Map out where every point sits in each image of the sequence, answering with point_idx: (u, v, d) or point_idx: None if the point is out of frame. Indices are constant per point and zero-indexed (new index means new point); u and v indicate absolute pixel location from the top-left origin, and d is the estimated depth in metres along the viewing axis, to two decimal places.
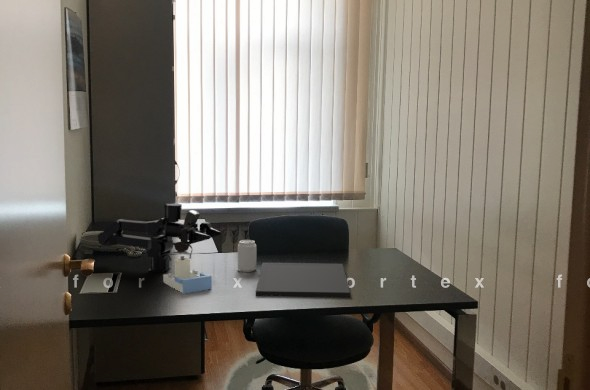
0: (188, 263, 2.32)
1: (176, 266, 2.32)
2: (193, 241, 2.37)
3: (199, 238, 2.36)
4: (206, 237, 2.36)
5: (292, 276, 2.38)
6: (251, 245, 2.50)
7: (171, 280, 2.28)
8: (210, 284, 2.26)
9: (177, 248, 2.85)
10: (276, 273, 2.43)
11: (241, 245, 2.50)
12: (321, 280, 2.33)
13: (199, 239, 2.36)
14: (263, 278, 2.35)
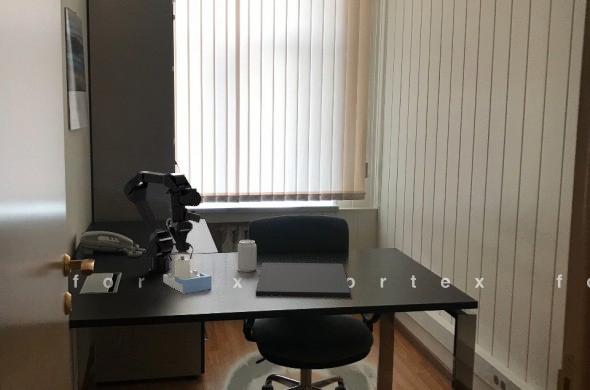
0: (188, 263, 2.32)
1: (176, 266, 2.32)
2: (178, 233, 2.35)
3: (182, 238, 2.37)
4: (183, 244, 2.38)
5: (292, 276, 2.38)
6: (251, 245, 2.50)
7: (171, 280, 2.28)
8: (210, 284, 2.26)
9: (178, 248, 2.84)
10: (276, 273, 2.43)
11: (241, 245, 2.50)
12: (321, 280, 2.33)
13: (180, 238, 2.37)
14: (263, 278, 2.35)
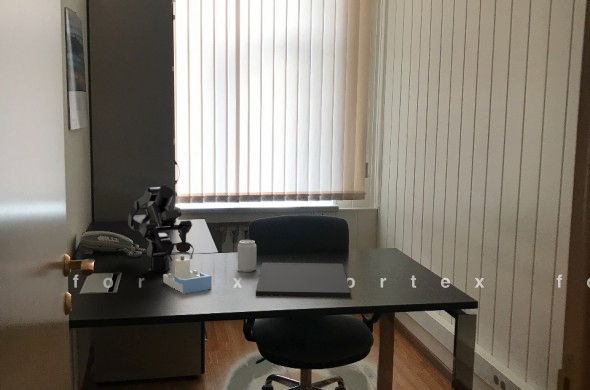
0: (188, 263, 2.32)
1: (176, 266, 2.32)
2: (151, 239, 2.38)
3: (156, 241, 2.37)
4: (160, 246, 2.35)
5: (292, 276, 2.38)
6: (251, 245, 2.50)
7: (171, 280, 2.28)
8: (210, 284, 2.26)
9: (179, 248, 2.84)
10: (276, 273, 2.43)
11: (241, 245, 2.50)
12: (321, 280, 2.33)
13: (155, 242, 2.37)
14: (263, 278, 2.35)
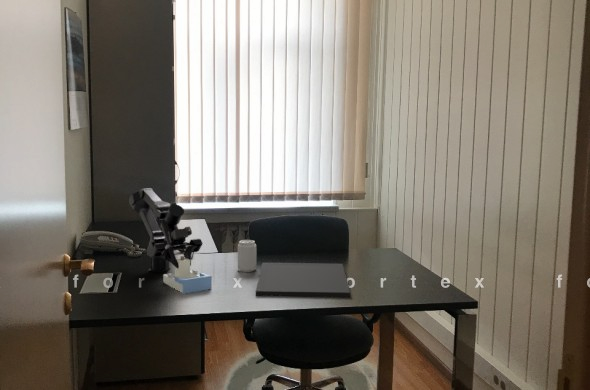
0: (188, 263, 2.32)
1: None
2: (166, 257, 2.33)
3: (171, 260, 2.32)
4: (176, 265, 2.30)
5: (292, 276, 2.38)
6: (251, 245, 2.50)
7: (171, 280, 2.28)
8: (210, 284, 2.26)
9: None
10: (276, 273, 2.43)
11: (241, 245, 2.50)
12: (321, 280, 2.33)
13: (171, 261, 2.32)
14: (263, 278, 2.35)
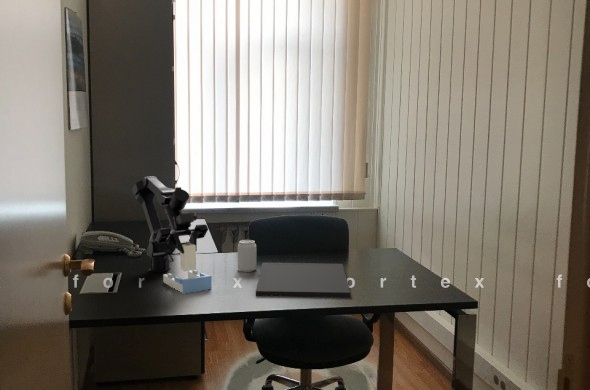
0: (194, 248, 2.27)
1: None
2: (171, 243, 2.28)
3: (176, 245, 2.27)
4: (181, 250, 2.26)
5: (292, 276, 2.38)
6: (251, 245, 2.50)
7: (171, 280, 2.28)
8: (210, 284, 2.26)
9: None
10: (276, 273, 2.43)
11: (241, 245, 2.50)
12: (321, 280, 2.33)
13: (176, 246, 2.27)
14: (263, 278, 2.35)
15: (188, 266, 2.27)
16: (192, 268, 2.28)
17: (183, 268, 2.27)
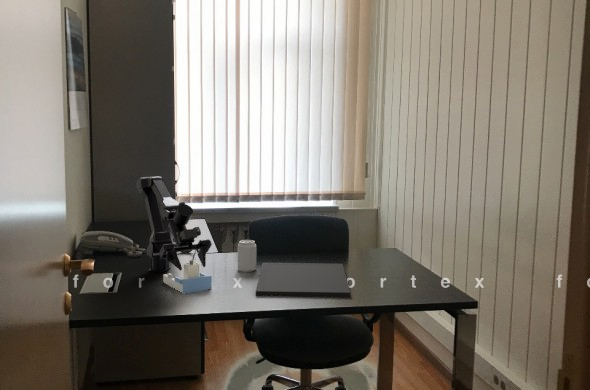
0: (197, 267, 2.26)
1: (185, 270, 2.26)
2: (169, 259, 2.26)
3: (174, 262, 2.24)
4: (179, 267, 2.23)
5: (292, 276, 2.38)
6: (251, 245, 2.50)
7: (171, 280, 2.28)
8: (210, 284, 2.26)
9: None
10: (276, 273, 2.43)
11: (241, 245, 2.50)
12: (321, 280, 2.33)
13: (173, 263, 2.25)
14: (263, 278, 2.35)
15: None
16: None
17: None
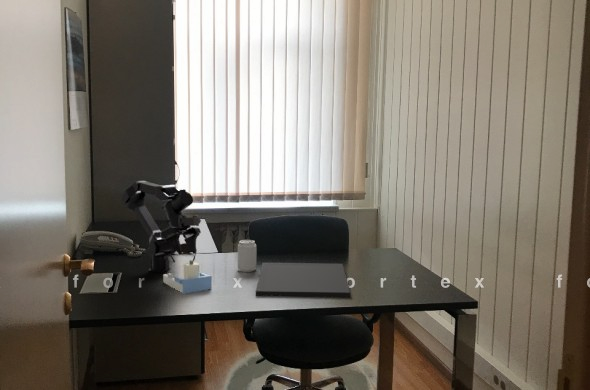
0: (197, 267, 2.26)
1: (185, 270, 2.26)
2: (168, 241, 2.33)
3: (174, 244, 2.33)
4: (179, 251, 2.33)
5: (292, 276, 2.38)
6: (251, 245, 2.50)
7: (171, 280, 2.28)
8: (210, 284, 2.26)
9: (182, 250, 2.82)
10: (276, 273, 2.43)
11: (241, 245, 2.50)
12: (321, 280, 2.33)
13: (173, 245, 2.33)
14: (263, 278, 2.35)
15: None
16: None
17: None
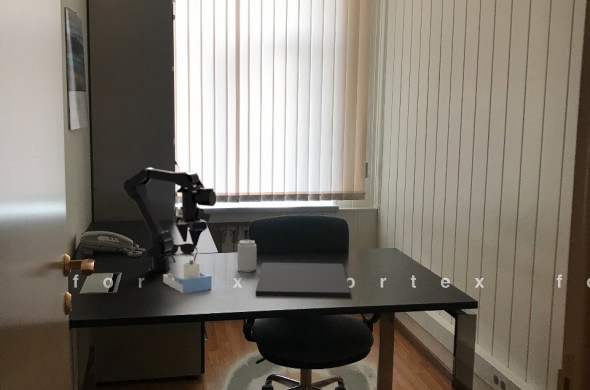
0: (197, 267, 2.26)
1: (185, 270, 2.26)
2: (192, 232, 2.38)
3: (195, 237, 2.40)
4: (195, 243, 2.41)
5: (292, 276, 2.38)
6: (251, 245, 2.50)
7: (171, 280, 2.28)
8: (210, 284, 2.26)
9: (183, 250, 2.81)
10: (276, 273, 2.43)
11: (241, 245, 2.50)
12: (321, 280, 2.33)
13: (193, 237, 2.39)
14: (263, 278, 2.35)
15: None
16: None
17: None
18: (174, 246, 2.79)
